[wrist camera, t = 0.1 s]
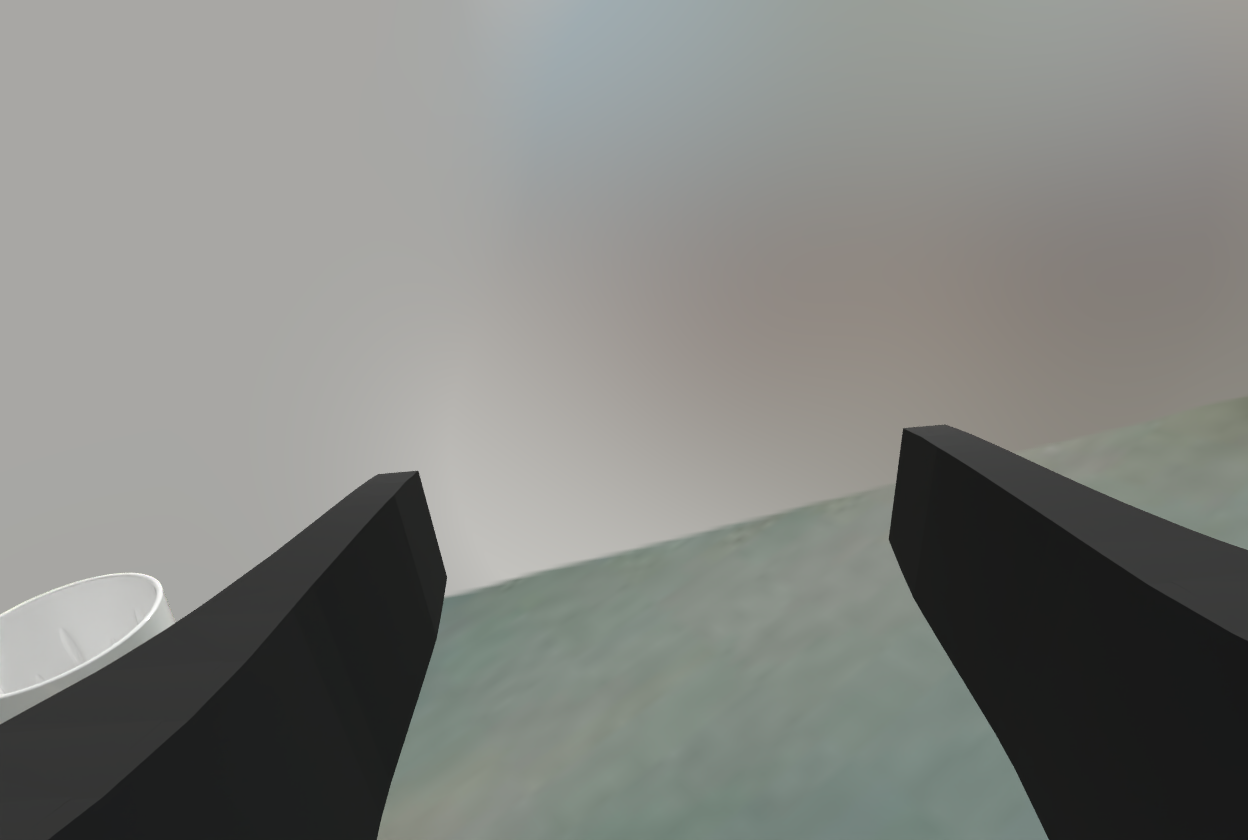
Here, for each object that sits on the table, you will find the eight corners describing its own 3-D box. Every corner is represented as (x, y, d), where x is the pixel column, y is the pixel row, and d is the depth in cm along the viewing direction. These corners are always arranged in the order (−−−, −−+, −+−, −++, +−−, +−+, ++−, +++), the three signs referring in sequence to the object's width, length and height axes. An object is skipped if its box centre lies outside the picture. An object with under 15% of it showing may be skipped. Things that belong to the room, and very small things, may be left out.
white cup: (107, 738, 35) (21, 586, 31) (259, 712, 36) (194, 560, 32) (-1, 891, 28) (-131, 719, 24) (191, 855, 29) (96, 682, 25)
